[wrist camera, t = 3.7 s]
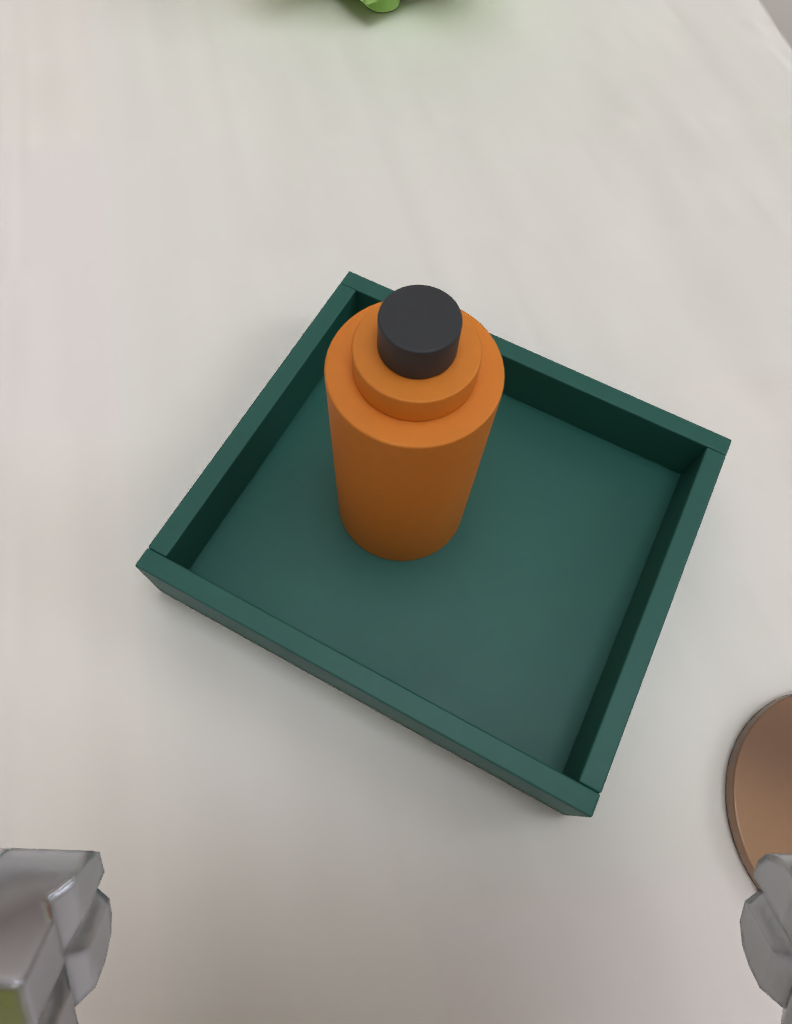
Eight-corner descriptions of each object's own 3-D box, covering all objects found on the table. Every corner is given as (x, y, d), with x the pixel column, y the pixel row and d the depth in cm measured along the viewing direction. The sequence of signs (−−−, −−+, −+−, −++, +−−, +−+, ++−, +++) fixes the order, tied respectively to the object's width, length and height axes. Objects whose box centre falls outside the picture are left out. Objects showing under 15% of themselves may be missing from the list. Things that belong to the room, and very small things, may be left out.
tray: (565, 815, 24) (592, 818, 21) (159, 590, 27) (133, 565, 24) (697, 474, 30) (732, 439, 27) (351, 317, 32) (349, 270, 29)
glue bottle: (428, 583, 27) (468, 438, 16) (315, 525, 27) (279, 349, 17) (483, 480, 28) (552, 287, 18) (375, 428, 29) (379, 214, 18)
